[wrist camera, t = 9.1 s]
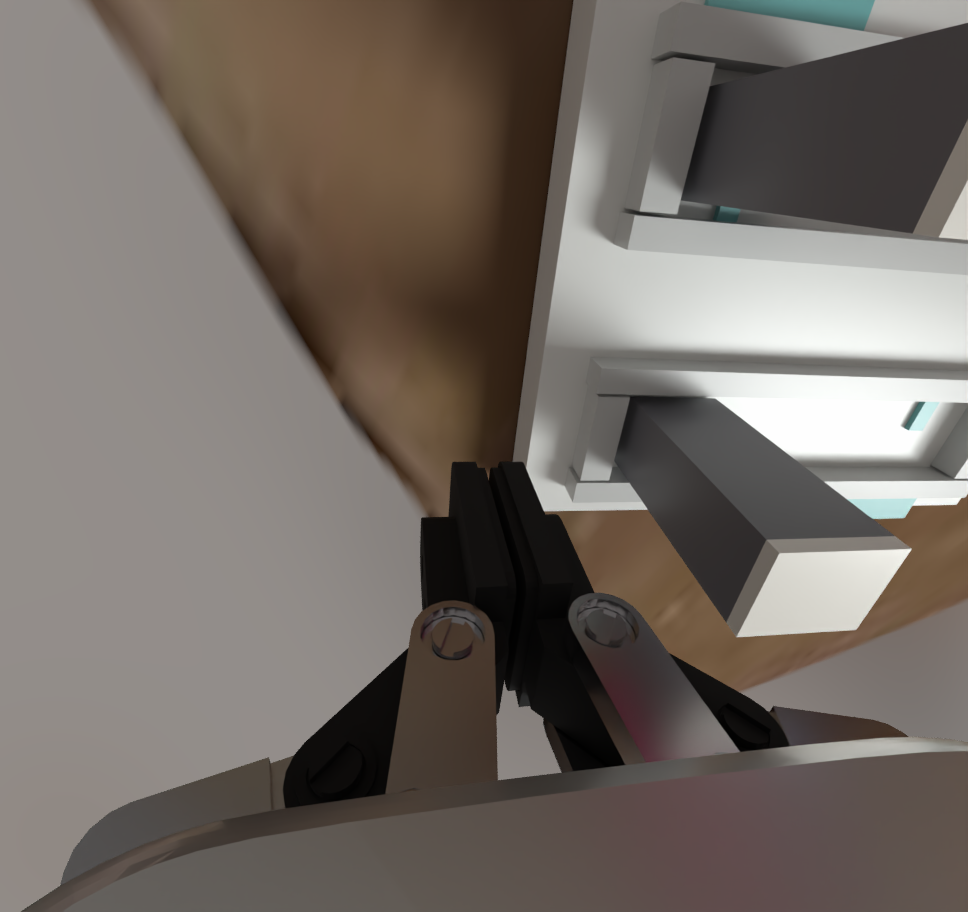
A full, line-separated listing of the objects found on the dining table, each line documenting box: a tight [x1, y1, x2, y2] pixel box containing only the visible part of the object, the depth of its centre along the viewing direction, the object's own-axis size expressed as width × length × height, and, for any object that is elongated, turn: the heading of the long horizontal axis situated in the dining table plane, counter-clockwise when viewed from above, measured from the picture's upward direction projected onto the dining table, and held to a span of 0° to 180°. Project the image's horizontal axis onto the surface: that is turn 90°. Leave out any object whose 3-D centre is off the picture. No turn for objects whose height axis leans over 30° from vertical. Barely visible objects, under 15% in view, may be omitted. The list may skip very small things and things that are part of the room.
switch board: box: [512, 0, 968, 519], centre depth 16 cm, size 19×16×3 cm
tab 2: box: [614, 396, 911, 637], centre depth 13 cm, size 3×2×7 cm
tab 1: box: [681, 23, 968, 240], centre depth 9 cm, size 3×2×7 cm
